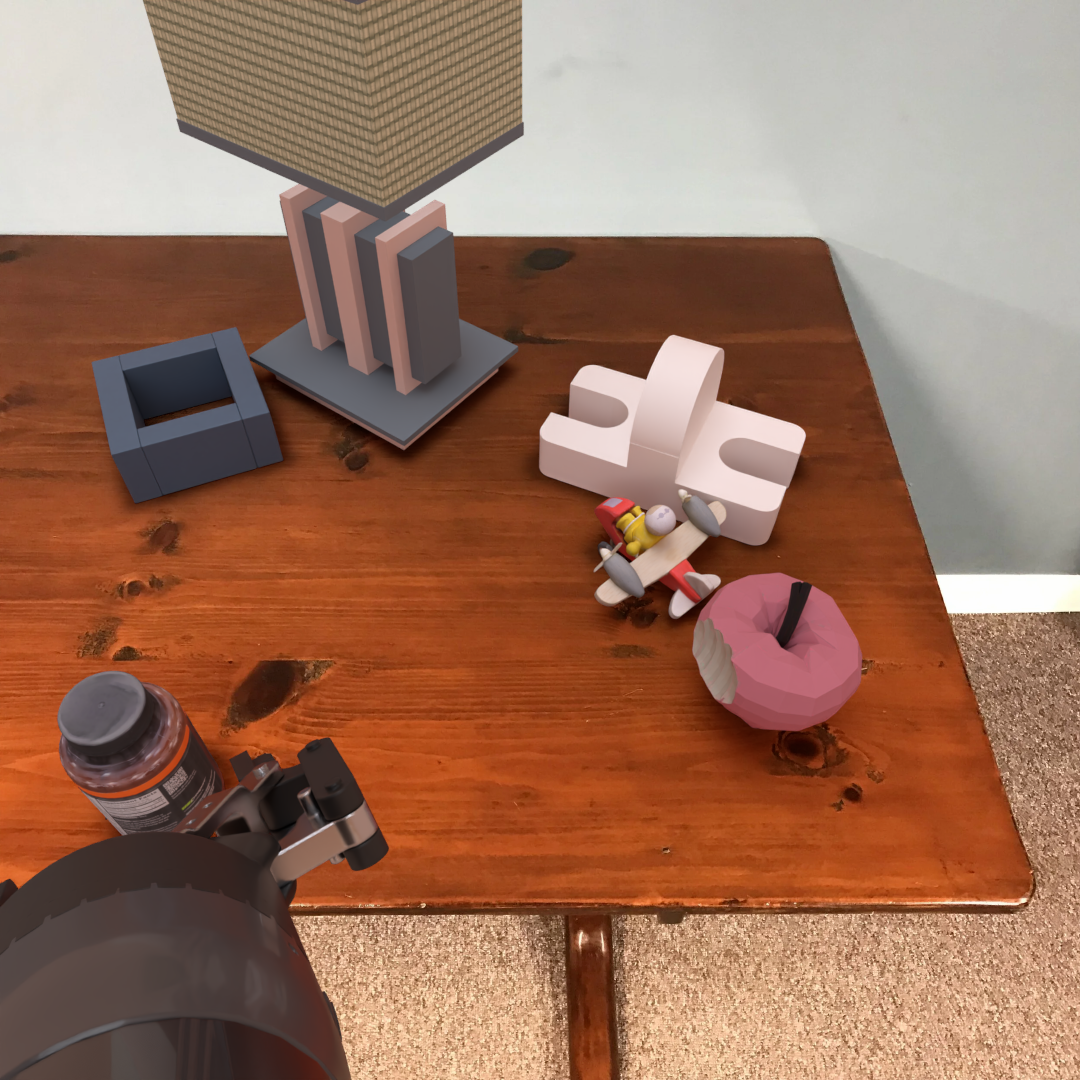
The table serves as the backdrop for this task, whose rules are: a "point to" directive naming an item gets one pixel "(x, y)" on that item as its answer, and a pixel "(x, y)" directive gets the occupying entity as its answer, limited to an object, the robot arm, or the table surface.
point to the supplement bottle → (134, 752)
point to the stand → (192, 441)
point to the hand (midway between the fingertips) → (137, 839)
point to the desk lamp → (359, 177)
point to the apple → (777, 652)
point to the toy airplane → (656, 550)
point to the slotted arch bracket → (673, 441)
